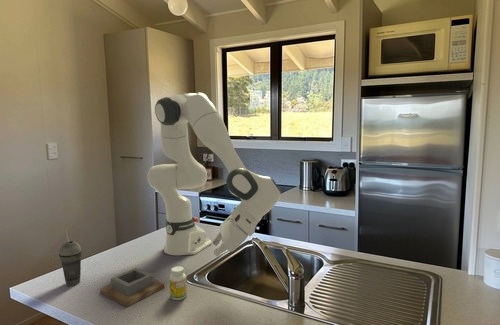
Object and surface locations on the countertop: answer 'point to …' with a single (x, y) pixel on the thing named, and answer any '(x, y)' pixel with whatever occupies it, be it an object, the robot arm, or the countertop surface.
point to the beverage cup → (71, 261)
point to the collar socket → (131, 287)
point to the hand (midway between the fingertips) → (214, 249)
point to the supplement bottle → (178, 283)
